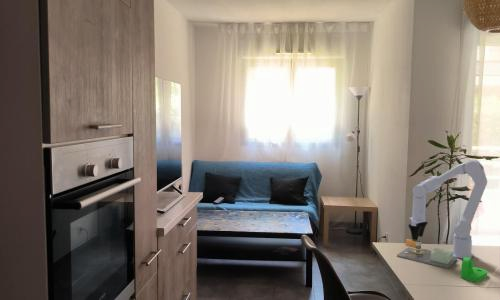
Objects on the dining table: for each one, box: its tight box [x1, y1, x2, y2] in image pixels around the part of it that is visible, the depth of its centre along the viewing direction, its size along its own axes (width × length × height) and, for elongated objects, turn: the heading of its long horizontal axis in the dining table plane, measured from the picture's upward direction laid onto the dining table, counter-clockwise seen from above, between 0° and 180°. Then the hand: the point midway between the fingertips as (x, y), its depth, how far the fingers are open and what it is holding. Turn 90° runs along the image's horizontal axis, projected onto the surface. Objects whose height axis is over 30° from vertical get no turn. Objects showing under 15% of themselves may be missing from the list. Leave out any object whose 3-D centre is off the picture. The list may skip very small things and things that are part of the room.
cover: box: [430, 247, 453, 264], centre depth 190 cm, size 9×7×4 cm
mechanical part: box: [460, 257, 488, 283], centre depth 173 cm, size 12×6×8 cm, turn 130°
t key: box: [405, 238, 422, 252], centre depth 201 cm, size 2×7×5 cm, turn 52°
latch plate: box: [396, 246, 458, 269], centre depth 195 cm, size 15×22×1 cm
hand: (417, 238), depth 208 cm, fingers open, 7 cm apart
